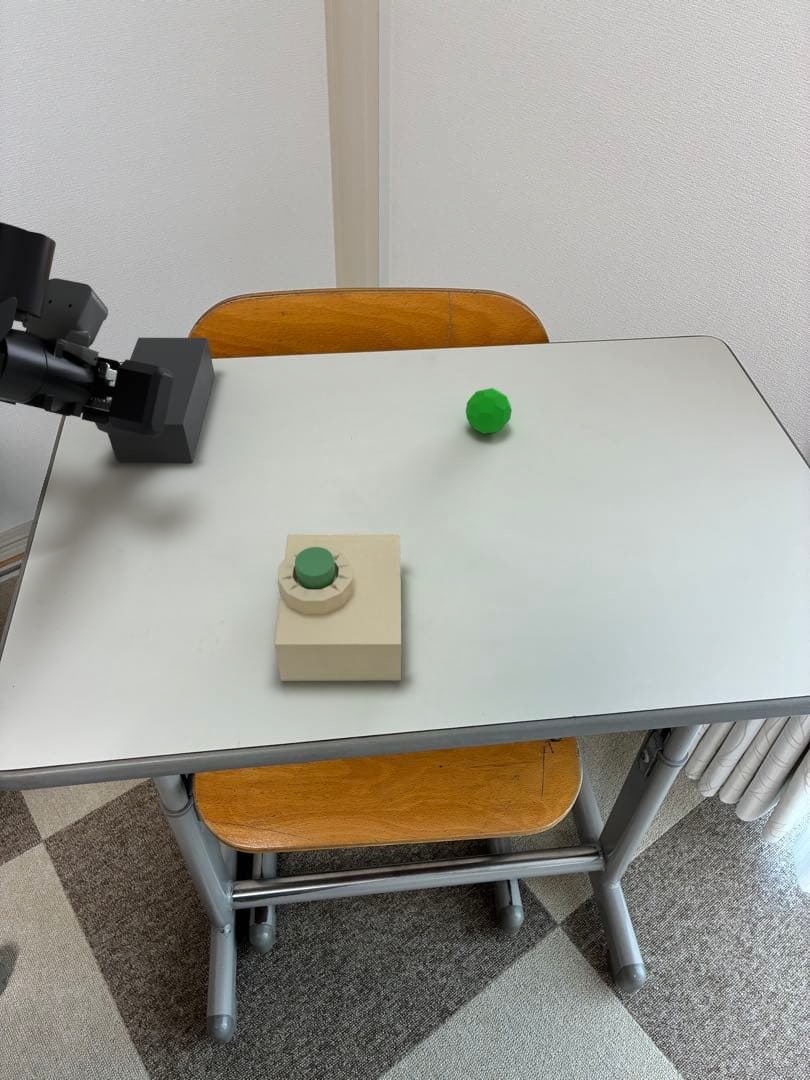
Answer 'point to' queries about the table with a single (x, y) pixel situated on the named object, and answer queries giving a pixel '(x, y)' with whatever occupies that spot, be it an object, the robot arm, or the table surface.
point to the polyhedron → (488, 410)
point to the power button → (315, 568)
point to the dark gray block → (170, 402)
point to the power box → (342, 612)
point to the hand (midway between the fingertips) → (122, 398)
